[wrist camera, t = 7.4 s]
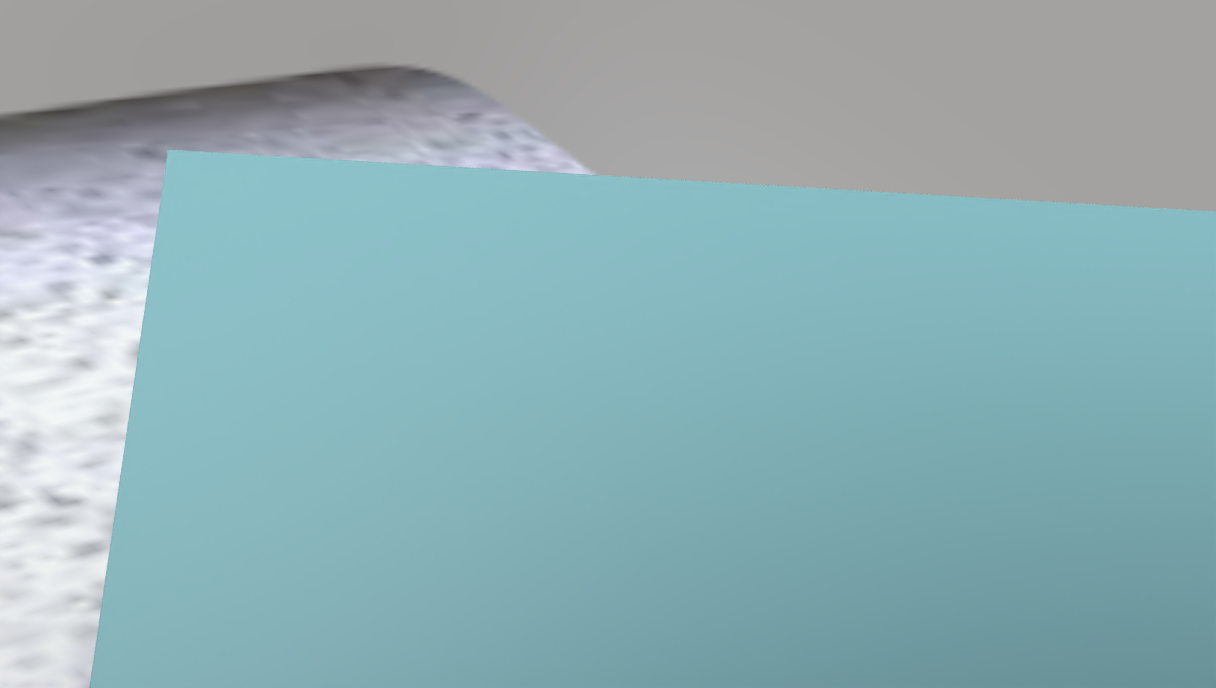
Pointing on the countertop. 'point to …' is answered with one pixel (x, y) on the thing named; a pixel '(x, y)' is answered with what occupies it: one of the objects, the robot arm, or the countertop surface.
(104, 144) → the countertop surface
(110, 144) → the countertop surface
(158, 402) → the teal block
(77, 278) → the countertop surface
